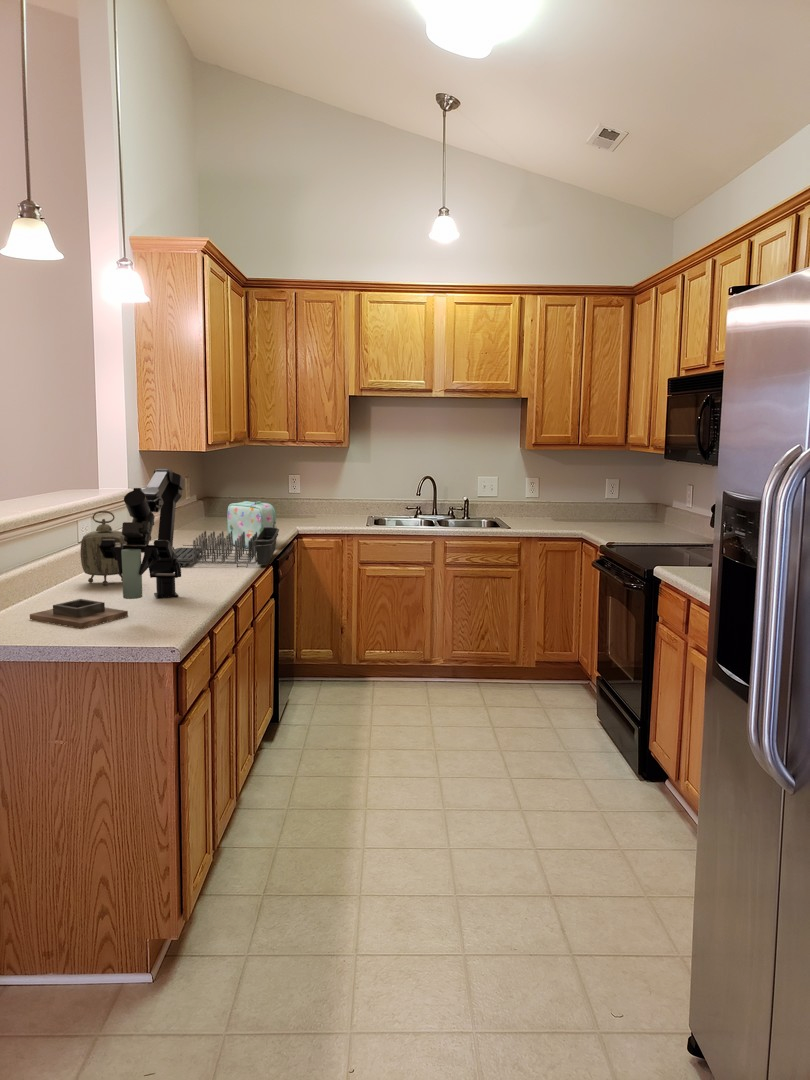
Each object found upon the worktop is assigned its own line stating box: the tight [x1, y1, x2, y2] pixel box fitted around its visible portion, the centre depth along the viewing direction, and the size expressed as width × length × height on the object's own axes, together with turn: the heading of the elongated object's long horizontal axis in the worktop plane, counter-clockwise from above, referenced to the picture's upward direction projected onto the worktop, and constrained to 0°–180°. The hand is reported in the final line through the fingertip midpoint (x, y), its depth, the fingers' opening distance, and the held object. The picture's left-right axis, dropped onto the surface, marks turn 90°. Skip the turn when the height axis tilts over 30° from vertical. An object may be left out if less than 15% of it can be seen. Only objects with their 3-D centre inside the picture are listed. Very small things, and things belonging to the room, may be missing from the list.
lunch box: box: [226, 500, 278, 549], centre depth 347 cm, size 27×10×21 cm, turn 51°
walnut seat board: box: [29, 598, 129, 629], centre depth 214 cm, size 16×20×4 cm
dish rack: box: [173, 527, 280, 568], centre depth 310 cm, size 34×44×12 cm
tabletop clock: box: [79, 510, 127, 586], centre depth 259 cm, size 14×9×25 cm, turn 103°
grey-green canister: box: [121, 549, 143, 600], centre depth 210 cm, size 5×5×13 cm
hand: (130, 574), depth 208 cm, fingers closed on grey-green canister, 5 cm apart
